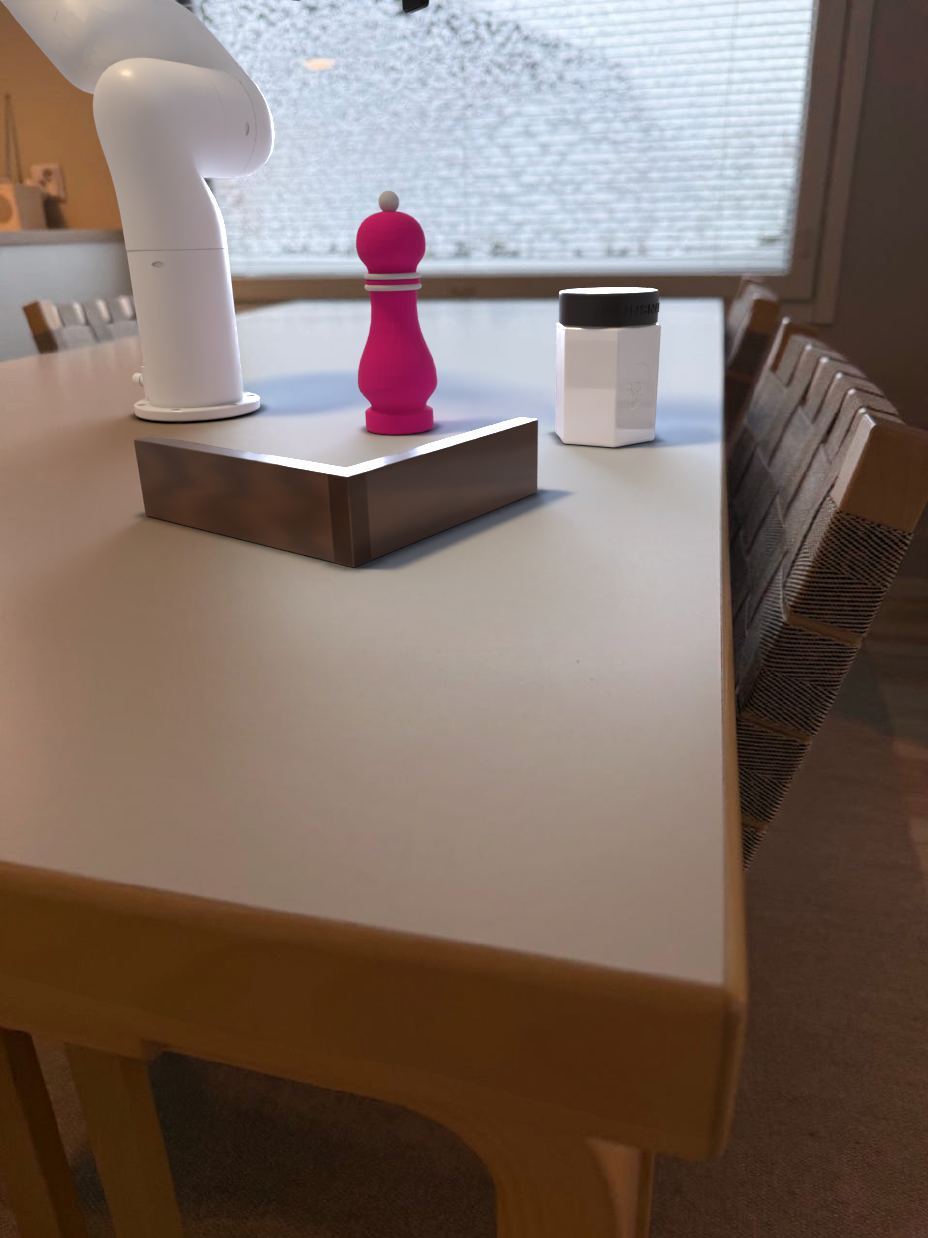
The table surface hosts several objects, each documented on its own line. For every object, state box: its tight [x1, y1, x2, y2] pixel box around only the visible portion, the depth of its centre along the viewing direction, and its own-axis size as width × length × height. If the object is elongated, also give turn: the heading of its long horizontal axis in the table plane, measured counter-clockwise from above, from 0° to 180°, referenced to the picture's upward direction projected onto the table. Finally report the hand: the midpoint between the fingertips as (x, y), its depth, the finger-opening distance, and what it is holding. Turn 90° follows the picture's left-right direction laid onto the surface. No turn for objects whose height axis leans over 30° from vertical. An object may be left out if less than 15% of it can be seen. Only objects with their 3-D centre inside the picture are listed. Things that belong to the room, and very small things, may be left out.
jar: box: [554, 287, 662, 448], centre depth 77 cm, size 9×8×12 cm
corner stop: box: [133, 417, 539, 568], centre depth 61 cm, size 18×18×5 cm
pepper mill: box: [355, 190, 438, 436], centre depth 82 cm, size 7×7×20 cm
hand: (361, 3), depth 71 cm, fingers open, 9 cm apart
